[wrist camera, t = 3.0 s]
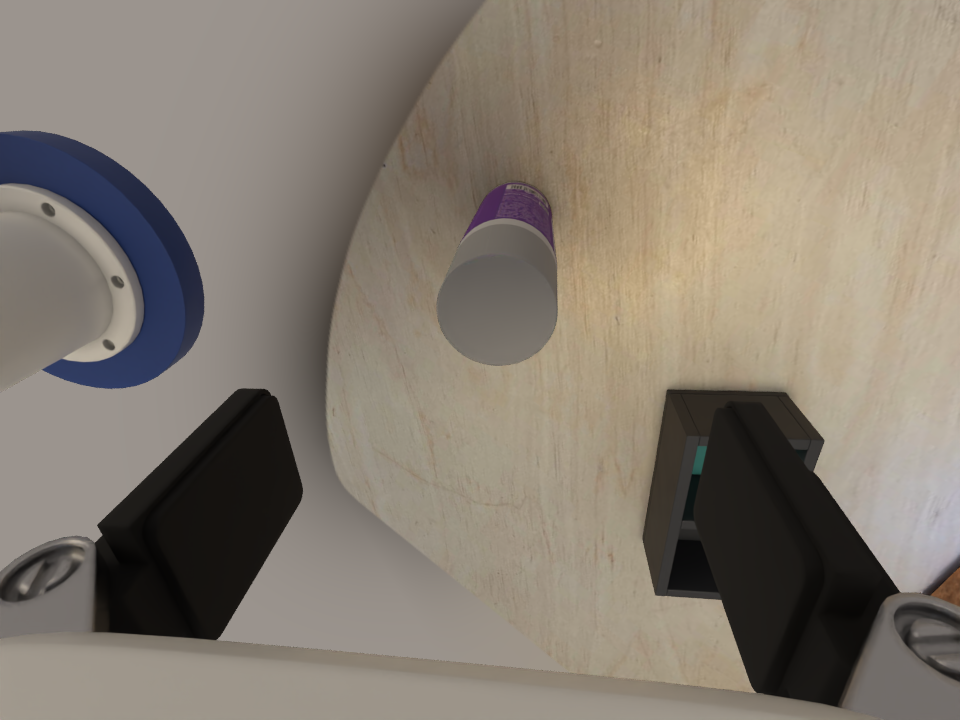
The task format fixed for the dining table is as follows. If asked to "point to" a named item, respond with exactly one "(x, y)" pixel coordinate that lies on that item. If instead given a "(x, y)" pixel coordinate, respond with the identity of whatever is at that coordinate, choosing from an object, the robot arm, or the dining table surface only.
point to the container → (502, 279)
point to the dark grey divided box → (677, 478)
